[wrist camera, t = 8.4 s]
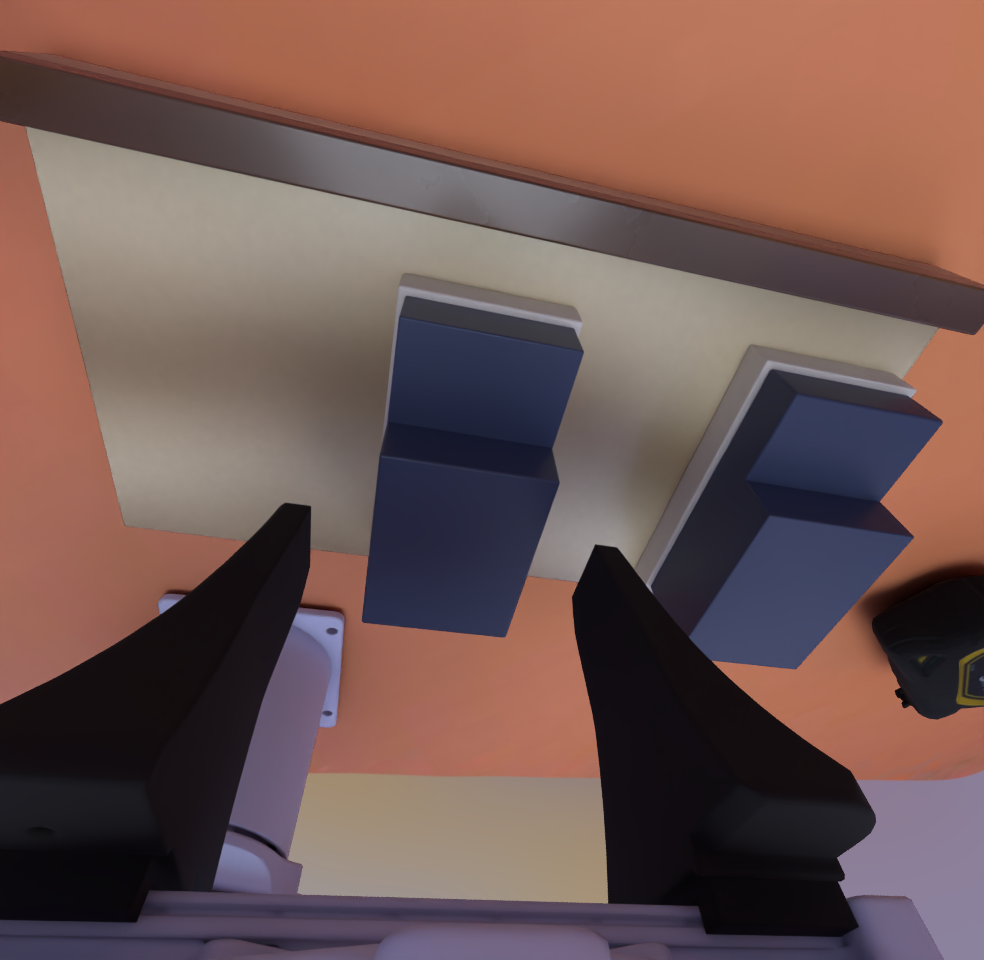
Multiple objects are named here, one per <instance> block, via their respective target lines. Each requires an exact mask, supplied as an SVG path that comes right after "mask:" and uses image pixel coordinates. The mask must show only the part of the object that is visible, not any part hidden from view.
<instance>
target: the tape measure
mask: <svg viewBox="0 0 984 960" xmlns="http://www.w3.org/2000/svg"><path fill="white" fill-rule="evenodd" d="M872 629H873V632H874V634H875V636H876V637H877V639H878V641H879V643H880V644H881V646H882V648H883V650H884V651H885V653H886V654H887V656H888V660H889V663H890V666H891V669H892V671H893V673H894V675H895V676H896V678H897V682H898V684H899V686H900V687H901V688H899V689H897V690H895V694H896V696H897V697H898V698H900V699H901V700H902V701H903V702H902V706H903V708H907V707H908V706H910V705H911V706H913V707H914V708H915V710H916V711H917V712H918V713H919V714H921V715H922V716H924V717H926V718H929V719H940V718H943V717H946V716H949V715H951V714H954V713H956V712H957V711H958V710H960V709H961V708H974V707H984V575H977V576H967V577H964V578H954V579H950V580H946V581H942V582H940V583H937V584H935V585H932V586H931V587H930V588H929V589H927V590H923V591H921V592H920V593H918V594H916V595H914V596H912V597H910V598H908V599H906V600H905V601H903V602H901V603H898V604H896V605H894V606H892V607H890V608H888V609H886V610H884V611H883V612H881V613H880V614H878V615H877V616H876V617H875V618H873V621H872Z"/></svg>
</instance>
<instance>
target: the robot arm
mask: <svg viewBox="0 0 984 960" xmlns="http://www.w3.org/2000/svg"><path fill="white" fill-rule="evenodd" d="M310 547H311V506H308V505H301V504H294V503H286V502H285V503H284V504H282V505H280V507H279V508H278V509H277V510H276V511H275V512H274V514H273V515H272V516H271V517H270V518H269V519H268V520H267V521H266V522H265V523H264V525H263V526H262V527H261V528H260V529H259V530H258V531H257V532H256V533H255V534H254V535H253V536H252V537H251V538H250V539H249V540H248V541H247V542H246V543H245V544H244V545H243V546H242V547H241V548H240V549H239V550H238V551H237V552H236V553H235V554H234V555H233V556H231V557H230V558H229V559H228V560H227V561H226V562H225V563H224V564H223V565H222V566H221V567H219V568H218V569H217V570H216V571H215V572H214V573H212V574H211V575H210V576H209V577H208V578H207V579H205V580H204V581H203V582H202V583H201V584H200V585H198V586H197V587H196V588H195V589H194V590H192V591H191V592H190V593H188V594H187V595H179V594H165V595H163V596H162V597H161V599H160V601H159V602H158V607H159V612H160V615H159V616H157V617H156V618H155V619H153V620H152V621H150V622H149V623H147V624H146V625H144V626H143V627H141V628H140V629H138V630H137V631H135V632H134V633H132V634H131V635H129V636H127V637H126V638H124V639H123V640H121V641H119V642H118V643H116V644H115V645H113V646H111V647H110V648H108V649H106V650H104V651H102V652H101V653H99V654H97V655H95V656H94V657H92V658H90V659H88V660H87V661H85V662H83V663H81V664H80V665H78V666H76V667H74V668H73V669H71V670H69V671H67V672H65V673H63V674H62V675H60V676H58V677H56V678H54V679H52V680H50V681H48V682H46V683H44V684H42V685H40V686H38V687H35V688H33V689H31V690H29V691H27V692H25V693H23V694H21V695H19V696H17V697H15V698H13V699H11V700H8V701H6V702H4V703H2V704H0V960H944V959H943V957H942V955H941V953H940V952H939V950H938V948H937V946H936V944H935V942H934V940H933V938H932V937H931V935H930V933H929V931H928V929H927V928H926V926H925V924H924V922H923V920H922V918H921V917H920V915H919V913H918V911H917V909H916V907H915V906H914V904H913V902H912V900H911V899H909V898H907V897H904V896H874V895H862V896H854V897H850V898H847V899H846V898H845V896H844V894H843V892H842V890H841V887H840V885H839V883H838V881H842V880H844V879H845V877H844V876H845V874H844V872H843V870H842V868H841V866H840V863H839V861H838V859H837V857H838V856H840V855H841V854H843V853H844V852H846V851H847V850H849V849H850V848H852V847H853V846H854V845H856V844H857V843H859V842H860V841H861V840H863V839H864V838H865V837H866V836H867V835H869V834H870V833H871V831H872V829H873V828H874V826H875V823H876V817H875V814H874V812H873V810H872V808H871V806H870V805H869V803H868V801H867V799H866V797H865V795H864V794H863V792H862V790H861V788H860V787H859V785H858V783H857V781H856V779H855V778H854V776H853V774H852V773H851V771H850V770H848V769H847V768H845V767H844V766H842V765H841V764H839V763H838V762H836V761H835V760H833V759H832V758H831V757H829V756H828V755H826V754H825V753H823V752H822V751H820V750H819V749H817V748H816V747H814V746H813V745H811V744H810V743H808V742H807V741H806V740H804V739H803V738H801V737H800V736H799V735H797V734H796V733H795V732H793V731H792V730H791V729H789V728H788V727H787V726H785V725H784V724H783V723H782V722H780V721H779V720H778V719H776V718H775V717H774V716H773V715H771V714H770V713H769V712H768V711H766V710H765V709H764V708H763V707H761V706H760V705H759V704H758V703H757V702H755V701H754V700H753V699H752V698H751V697H750V696H749V695H747V694H746V693H745V692H744V691H743V690H742V689H740V688H739V687H738V686H737V685H736V684H735V683H734V682H733V681H732V680H730V679H729V678H728V677H727V676H726V675H725V674H724V673H723V672H722V671H721V670H720V669H719V668H718V667H717V666H716V665H715V664H714V663H713V662H712V661H711V660H710V659H709V658H708V657H707V656H706V655H705V654H704V653H703V652H702V651H701V650H700V649H699V648H698V647H697V646H696V645H695V644H694V643H693V641H692V640H691V639H690V638H689V637H688V636H687V635H686V633H685V632H684V631H683V630H682V629H681V628H680V627H679V626H678V624H677V623H676V622H675V621H674V620H673V618H672V617H671V616H670V615H669V614H668V612H667V611H666V610H665V609H664V608H663V606H662V605H661V604H660V602H659V601H658V600H657V599H656V597H655V596H654V595H653V594H652V592H651V591H650V590H649V588H648V587H647V586H646V584H645V583H644V582H643V580H642V579H641V578H640V576H639V575H638V574H637V572H636V571H635V570H634V568H633V567H632V566H631V564H630V563H629V562H628V560H627V559H626V558H625V557H624V555H623V554H622V553H621V551H620V550H619V549H618V548H617V547H612V546H605V545H597V544H595V546H594V548H593V550H592V553H591V555H590V557H589V559H588V562H587V564H586V566H585V569H584V571H583V573H582V575H581V578H580V580H579V582H578V585H577V587H576V589H575V592H574V594H573V596H572V603H573V617H574V628H575V635H576V640H577V645H578V650H579V655H580V659H581V664H582V669H583V673H584V678H585V682H586V687H587V691H588V696H589V700H590V705H591V709H592V714H593V720H594V725H595V731H596V740H597V749H598V757H599V766H600V776H601V787H602V798H603V810H604V824H605V840H606V853H607V854H606V856H607V880H608V904H603V903H568V902H531V901H499V900H498V901H497V900H465V899H464V900H463V899H430V898H396V897H361V896H326V895H324V896H323V895H301V894H297V891H298V887H299V882H300V877H301V872H302V867H303V866H302V865H301V864H299V863H295V862H292V861H289V860H288V856H289V852H290V847H291V843H292V839H293V834H294V830H295V826H296V822H297V817H298V813H299V808H300V805H301V800H302V796H303V792H304V787H305V783H306V778H307V775H308V770H309V766H310V762H311V757H312V753H313V749H314V744H315V740H316V736H317V732H318V727H333V726H334V725H335V724H336V721H337V714H338V701H339V688H340V675H341V662H342V649H343V636H344V623H345V618H344V616H343V615H342V614H341V613H339V612H336V611H328V610H319V609H309V608H300V607H299V605H300V603H301V599H302V595H303V591H304V588H305V584H306V580H307V576H308V572H309V568H310Z"/></svg>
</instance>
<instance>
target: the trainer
mask: <svg viewBox="0 0 984 960" xmlns="http://www.w3.org/2000/svg"><path fill="white" fill-rule="evenodd" d="M582 325H583V322H582V320H581V318H580V315H579V313H578V311H577V309H576V308H574V307H569V306H564V305H559V304H554V303H549V302H544V301H539V300H534V299H529V298H524V297H519V296H514V295H510V294H505V293H500V292H495V291H490V290H485V289H480V288H475V287H470V286H465V285H460V284H455V283H450V282H445V281H441V280H436V279H431V278H426V277H421V276H416V275H411V274H406V273H405V274H403V276H402V278H401V281H400V284H399V287H398V296H397V305H396V314H395V324H394V333H393V342H392V352H391V361H390V370H389V380H388V389H387V398H386V408H385V417H384V426H383V436H382V445H381V451H380V455H379V463H378V473H377V482H376V492H375V501H374V510H373V520H372V529H371V539H370V548H369V558H368V567H367V577H366V586H365V596H364V605H363V614H362V622H364V623H371V624H381V625H390V626H399V627H409V628H418V629H428V630H437V631H447V632H456V633H466V634H475V635H485V636H494V637H506V634H507V631H508V629H509V626H510V623H511V620H512V617H513V614H514V612H515V609H516V606H517V603H518V600H519V597H520V595H521V592H522V589H523V586H524V583H525V580H526V578H527V575H528V572H529V569H530V566H531V563H532V561H533V558H534V555H535V552H536V549H537V546H538V544H539V541H540V538H541V535H542V532H543V529H544V527H545V524H546V521H547V518H548V515H549V512H550V510H551V507H552V504H553V501H554V498H555V495H556V493H557V490H558V487H559V484H560V481H559V476H558V472H557V467H556V463H555V459H554V454H553V450H552V449H553V446H554V443H555V440H556V437H557V434H558V431H559V428H560V425H561V422H562V419H563V415H564V412H565V409H566V406H567V403H568V400H569V397H570V394H571V391H572V388H573V385H574V382H575V379H576V376H577V373H578V370H579V367H580V364H581V361H582V358H583V355H584V350H583V348H582V346H581V343H580V341H579V334H580V331H581V328H582Z"/></svg>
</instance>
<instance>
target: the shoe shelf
mask: <svg viewBox="0 0 984 960" xmlns="http://www.w3.org/2000/svg"><path fill="white" fill-rule="evenodd" d="M0 121H2V122H7V123H11V124H16V125H20V126H25V127H26V131H27V135H28V139H29V143H30V147H31V151H32V155H33V159H34V163H35V167H36V171H37V175H38V180H39V184H40V188H41V192H42V196H43V200H44V204H45V208H46V212H47V216H48V220H49V224H50V228H51V232H52V236H53V240H54V244H55V248H56V252H57V256H58V260H59V264H60V268H61V272H62V276H63V280H64V284H65V288H66V292H67V296H68V300H69V304H70V308H71V312H72V316H73V320H74V325H75V329H76V333H77V337H78V341H79V345H80V349H81V353H82V357H83V361H84V365H85V369H86V373H87V377H88V381H89V385H90V389H91V393H92V397H93V401H94V405H95V409H96V413H97V417H98V421H99V425H100V429H101V433H102V437H103V441H104V445H105V449H106V453H107V457H108V461H109V465H110V470H111V474H112V478H113V482H114V486H115V490H116V494H117V498H118V502H119V506H120V510H121V514H122V518H123V522H124V525H125V526H128V527H136V528H144V529H152V530H160V531H168V532H176V533H184V534H193V535H201V536H209V537H217V538H225V539H233V540H241V541H248V540H249V539H250V538H251V537H252V536H253V535H254V534H255V533H256V532H257V531H258V530H259V529H260V528H261V527H262V526H263V525H264V523H265V522H266V521H267V520H268V519H269V518H270V517H271V516H272V515H273V514H274V512H275V511H276V510H277V509H278V508H279V507H280V505H282V504H284V503H285V502H286V503H294V504H301V505H308V506H311V547H310V549H314V550H322V551H330V552H338V553H346V554H354V555H362V556H369V548H370V539H371V529H372V520H373V510H374V501H375V492H376V482H377V473H378V463H379V455H380V451H381V445H382V436H383V426H384V417H385V408H386V398H387V389H388V380H389V370H390V361H391V352H392V342H393V333H394V324H395V314H396V305H397V296H398V287H399V284H400V281H401V278H402V276H403V274H405V273H406V274H411V275H416V276H421V277H426V278H431V279H436V280H441V281H445V282H450V283H455V284H460V285H465V286H470V287H475V288H480V289H485V290H490V291H495V292H500V293H505V294H510V295H514V296H519V297H524V298H529V299H534V300H539V301H544V302H549V303H554V304H559V305H564V306H569V307H574V308H576V309H577V311H578V313H579V315H580V318H581V320H582V322H583V325H582V328H581V331H580V334H579V341H580V343H581V346H582V348H583V350H584V355H583V358H582V361H581V364H580V367H579V370H578V373H577V376H576V379H575V382H574V385H573V388H572V391H571V394H570V397H569V400H568V403H567V406H566V409H565V412H564V415H563V419H562V422H561V425H560V428H559V431H558V434H557V437H556V440H555V443H554V446H553V449H552V450H553V454H554V459H555V463H556V467H557V472H558V476H559V481H560V484H559V487H558V490H557V493H556V495H555V498H554V501H553V504H552V507H551V510H550V512H549V515H548V518H547V521H546V524H545V527H544V529H543V532H542V535H541V538H540V541H539V544H538V546H537V549H536V552H535V555H534V558H533V561H532V563H531V566H530V569H529V572H528V575H527V576H532V577H540V578H548V579H556V580H564V581H572V582H579V580H580V578H581V575H582V573H583V571H584V569H585V566H586V564H587V562H588V559H589V557H590V555H591V553H592V550H593V548H594V546H595V544H597V545H605V546H612V547H617V548H618V549H619V550H620V551H621V553H622V554H623V555H624V557H625V558H626V559H627V560H628V562H629V563H630V564H631V566H632V567H633V568H634V570H635V568H636V567H637V565H638V563H639V561H640V559H641V557H642V555H643V553H644V551H645V549H646V547H647V545H648V543H649V541H650V539H651V537H652V535H653V533H654V531H655V530H656V528H657V526H658V524H659V522H660V520H661V518H662V516H663V514H664V512H665V510H666V508H667V506H668V504H669V502H670V500H671V498H672V496H673V495H674V493H675V491H676V489H677V487H678V485H679V483H680V481H681V479H682V477H683V475H684V473H685V471H686V469H687V467H688V465H689V463H690V461H691V460H692V458H693V456H694V454H695V452H696V450H697V448H698V446H699V444H700V442H701V440H702V438H703V436H704V434H705V432H706V430H707V428H708V426H709V424H710V423H711V421H712V419H713V417H714V415H715V413H716V411H717V409H718V407H719V405H720V403H721V401H722V399H723V397H724V395H725V393H726V391H727V389H728V388H729V386H730V384H731V382H732V380H733V378H734V376H735V374H736V372H737V370H738V368H739V366H740V364H741V362H742V360H743V358H744V356H745V354H746V353H747V351H748V349H749V347H750V345H756V346H761V347H766V348H771V349H776V350H781V351H786V352H791V353H796V354H801V355H806V356H811V357H816V358H821V359H825V360H830V361H835V362H840V363H845V364H850V365H855V366H860V367H865V368H870V369H875V370H880V371H885V372H890V373H893V374H895V375H896V376H898V377H899V378H900V379H903V378H904V377H905V375H906V374H907V372H908V371H909V370H910V368H911V367H912V365H913V364H914V363H915V361H916V360H917V358H918V357H919V356H920V354H921V353H922V351H923V350H924V349H925V347H926V346H927V344H928V343H929V342H930V340H931V339H932V337H933V336H934V335H935V333H936V332H937V330H938V329H939V328H943V329H947V330H952V331H956V332H961V333H965V334H970V335H975V334H976V333H977V332H978V331H979V329H980V328H981V327H982V325H983V324H984V285H982V284H980V283H977V282H975V281H971V280H970V279H967V278H965V277H962V276H960V275H957V274H955V273H952V272H950V271H947V270H945V269H942V268H940V267H937V266H933V265H929V264H924V263H920V262H916V261H912V260H908V259H904V258H899V257H895V256H891V255H887V254H883V253H879V252H874V251H870V250H866V249H862V248H858V247H853V246H849V245H845V244H841V243H837V242H833V241H828V240H824V239H820V238H816V237H812V236H808V235H803V234H799V233H795V232H791V231H787V230H783V229H778V228H774V227H770V226H766V225H762V224H758V223H753V222H749V221H745V220H741V219H737V218H732V217H728V216H724V215H720V214H716V213H712V212H707V211H703V210H699V209H695V208H691V207H687V206H682V205H678V204H674V203H670V202H666V201H662V200H657V199H653V198H649V197H645V196H641V195H637V194H632V193H628V192H624V191H620V190H616V189H612V188H607V187H603V186H599V185H595V184H591V183H586V182H582V181H578V180H574V179H570V178H566V177H561V176H557V175H553V174H549V173H545V172H541V171H536V170H532V169H528V168H524V167H520V166H516V165H511V164H507V163H503V162H499V161H495V160H491V159H486V158H482V157H478V156H474V155H470V154H466V153H461V152H457V151H453V150H449V149H445V148H440V147H436V146H432V145H428V144H424V143H420V142H415V141H411V140H407V139H403V138H399V137H395V136H390V135H386V134H382V133H378V132H374V131H370V130H365V129H361V128H357V127H353V126H349V125H345V124H340V123H336V122H332V121H328V120H324V119H320V118H315V117H311V116H307V115H303V114H299V113H294V112H290V111H286V110H282V109H278V108H274V107H269V106H265V105H261V104H257V103H253V102H249V101H244V100H240V99H236V98H232V97H228V96H224V95H219V94H215V93H211V92H207V91H203V90H199V89H194V88H190V87H186V86H182V85H178V84H173V83H169V82H165V81H161V80H157V79H153V78H148V77H144V76H140V75H136V74H132V73H128V72H123V71H119V70H115V69H111V68H107V67H103V66H98V65H94V64H90V63H86V62H82V61H78V60H73V59H69V58H65V57H61V56H57V55H53V54H46V53H30V52H14V51H10V52H8V51H0Z"/></svg>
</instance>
